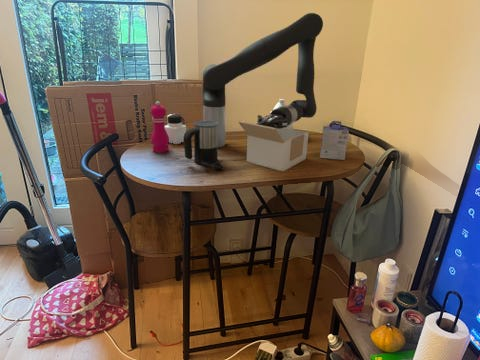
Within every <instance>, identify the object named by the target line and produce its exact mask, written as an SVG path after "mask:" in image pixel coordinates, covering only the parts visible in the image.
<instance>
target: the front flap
mask: <svg viewBox="0 0 480 360" xmlns="http://www.w3.org/2000/svg"><path fill="white" fill-rule="evenodd" d="M237 123H238V124H239V125H240V126H241V128H242V130H244V132H245V133H246V134H247V136H248V135H249V136H253V137H258V138H262V139H266V140H271V141H275V142H280V143H284V142H283V140H282V138H281V137H280V135H279V133H278V132H277V130H276V128H272V127H268V126H263V125H258V124H257V123H253V122H252V123H251V122H247V121H242V120H238V121H237Z"/></svg>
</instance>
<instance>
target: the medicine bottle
mask: <svg viewBox="0 0 480 360" xmlns="http://www.w3.org/2000/svg"><path fill="white" fill-rule="evenodd" d="M166 117H167V125H164V127H165V130H166V132H167V134H168V136H169V143H168V144H172V143H173V145H179V144H181V142H182V143H184V134H185V132H186V131H187V125H185V124H183V122H182V121H183V120H182V115H180V114H178V113H173V114H168V115H167V116H166Z"/></svg>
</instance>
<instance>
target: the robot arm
mask: <svg viewBox="0 0 480 360" xmlns="http://www.w3.org/2000/svg"><path fill="white" fill-rule="evenodd" d="M323 27H324V22H323V18H322V17H321V16H320V15H319V14H317V13H315V12H310V13H306V14H304V15H302V16H301V17H300V18H298V19H297V20H295V21H294V22H292V23H291V24H290V25H288V26H286V27H284V28H282V29H280V30H278V31H275V32H273V33H270V34H268V35H266V36H264V37H262V38H260V39H259V40H256V41H254V42H253V43H251V44H249V45H247V46H246V47H245V48H243V49H242V50H240V51H239V52H238V53H237V54H236V55H234V56H233V57H231V58H229V59H228V60H225V61H223V62H221V63H217V64H209V65H207V66H206V67H205V69H204V70H203V73H202V97H203V98H202V102H203V103H202V104H203V121H214V122H217V123H218V134H217V149H218V148H223V147H224V146H226V85H228V84H229V83H231V82H232V81H233V80H234V79H237V78H238V77H240V76H242V75H244V74H246V73H249V72H252V71H254V70H256V69H258V68H259V67H262V66H264V65H266V64H268V63H269V62H271V61H273V60H274V59H277V58H278V57H279V56H281V55H282V54H283V53H285V52H286V51H288V50H289V49H290V48H292V47H294V46H296V45H297V48H298V49H297V50H298V53H297V55H298V56H297V57H298V58H297V60H298V61H297V70H296V73H297V74H296V86H295V90H296V93H297V94H298V95H303V96H304V97H305V99H295V100H293V101H291V103H290V104H288V105H286V106H282V107H279V108H277V109H274V108H273V109H274V110H273V109H272V110H271V111H272V112H271V111H270V112H271V113H270V112H269V114H268V115H265V116H264V117H263V116H262V115H260V114H259V115H257V121H256V122H257V123H256V124H258V125H263V126H268V127H272V128H277V129H281V128H286V127H287V126H288V125H290V124H292V125H293V123H296V122H297V121H299V120H301V118H308V119H310V118H311V119H312V118H313V117H314V116H316V113H317V102H316V98H315V91H314V87H315V86H314V85H315V61H314V53H315V52H314V51H315V50H314V49H315V43H316V38H317V37H319V35H320V34H321V32H322V30H323Z"/></svg>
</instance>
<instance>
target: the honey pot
mask: <svg viewBox="0 0 480 360" xmlns="http://www.w3.org/2000/svg"><path fill="white" fill-rule="evenodd" d="M285 101H286V99H283V98H279V99H278V102H277V103H276V104H275V106H274V107H273V109H272V110H271V111H269V114H270V113H271V112H272V111H273V110H274V109H277V108H279V107H282V106H287V105H286V104H285ZM287 128H292V129H294V125H293V123H292V124H290V125H288V126H287Z"/></svg>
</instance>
